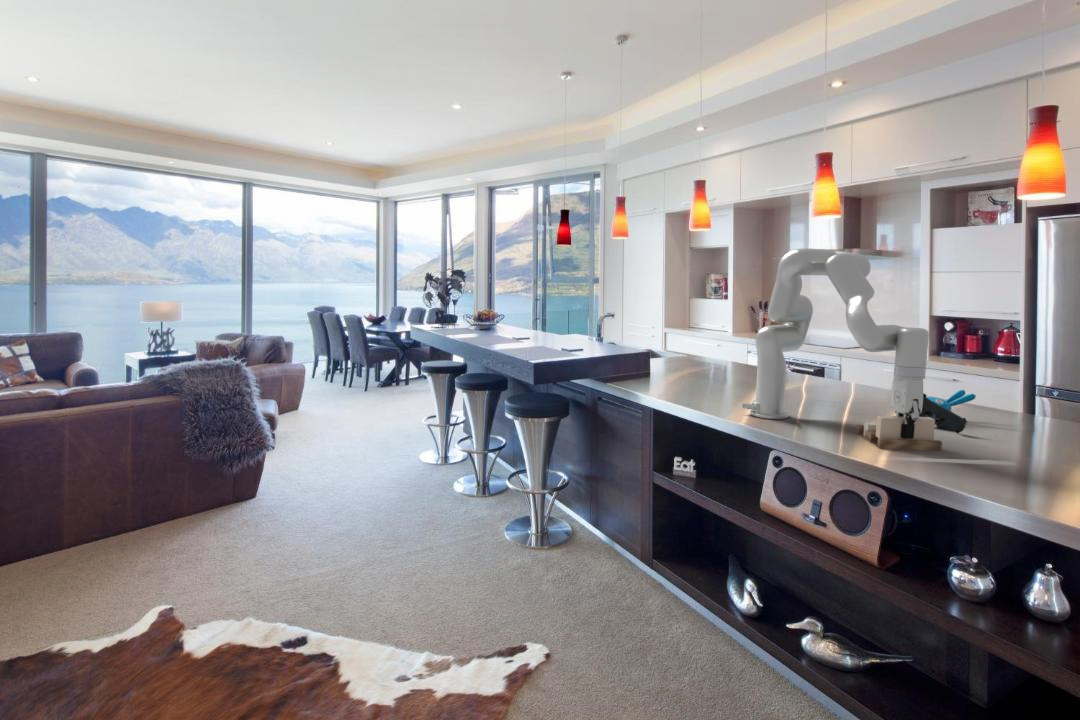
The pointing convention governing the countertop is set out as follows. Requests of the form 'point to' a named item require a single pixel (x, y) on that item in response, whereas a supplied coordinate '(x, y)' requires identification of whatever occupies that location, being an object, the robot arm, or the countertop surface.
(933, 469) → the countertop surface
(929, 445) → the rack
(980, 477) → the countertop surface
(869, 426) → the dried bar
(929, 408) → the handgun
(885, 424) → the clay bar
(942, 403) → the toy
